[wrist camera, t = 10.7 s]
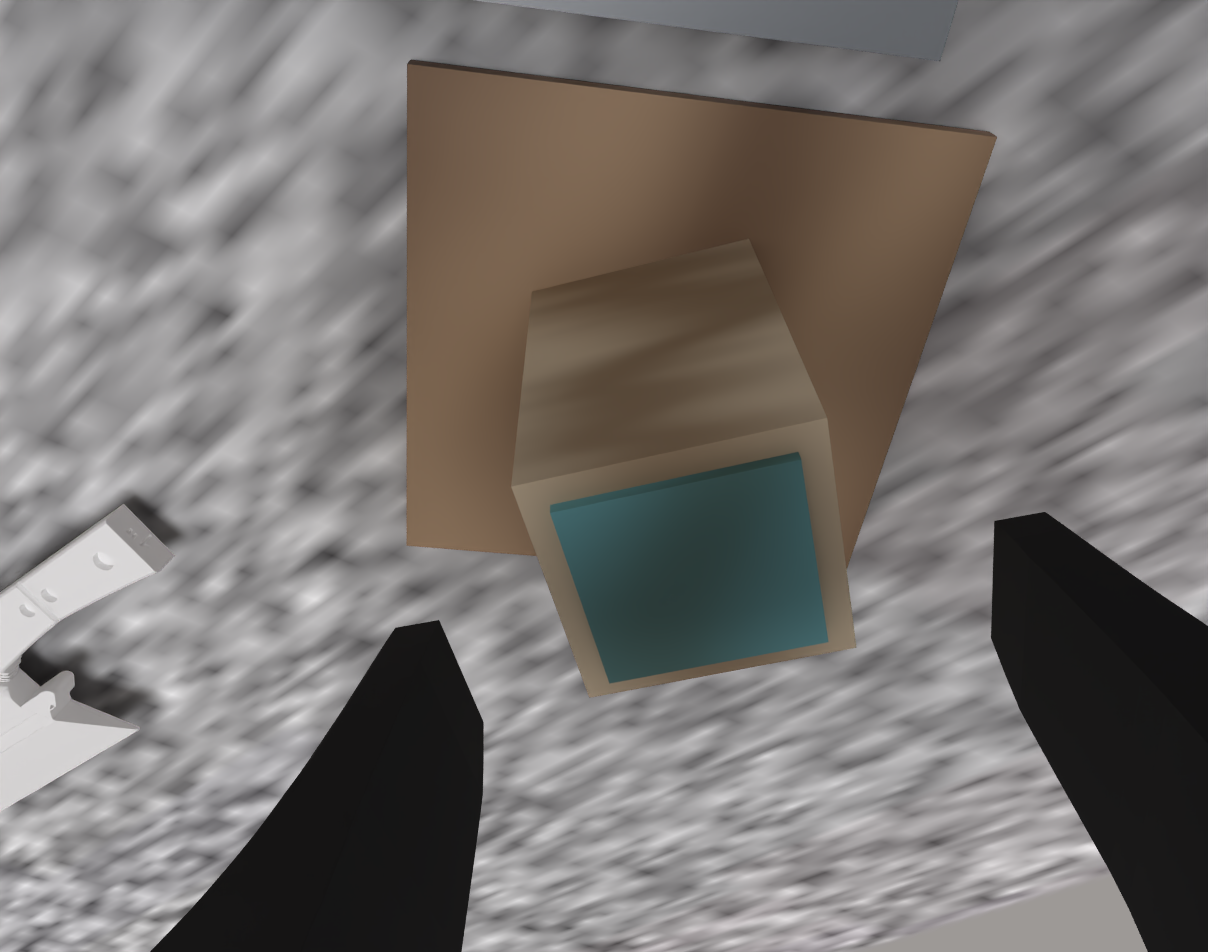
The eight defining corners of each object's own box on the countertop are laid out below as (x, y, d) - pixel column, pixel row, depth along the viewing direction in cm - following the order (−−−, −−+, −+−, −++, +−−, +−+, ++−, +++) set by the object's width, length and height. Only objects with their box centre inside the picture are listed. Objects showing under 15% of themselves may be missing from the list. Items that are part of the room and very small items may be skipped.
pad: (989, 131, 18) (997, 137, 17) (839, 569, 24) (842, 580, 23) (410, 59, 17) (407, 64, 16) (409, 535, 23) (406, 545, 23)
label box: (748, 238, 18) (830, 425, 12) (778, 426, 21) (859, 656, 15) (531, 291, 19) (510, 495, 13) (586, 467, 21) (589, 706, 15)
